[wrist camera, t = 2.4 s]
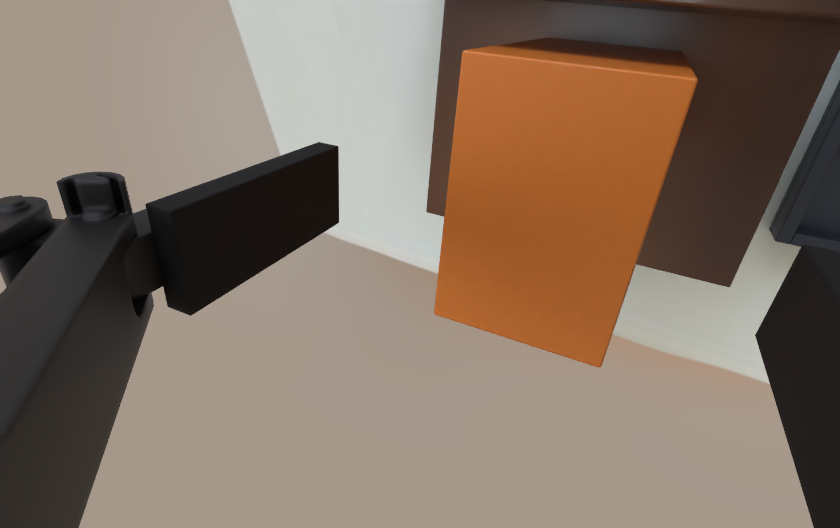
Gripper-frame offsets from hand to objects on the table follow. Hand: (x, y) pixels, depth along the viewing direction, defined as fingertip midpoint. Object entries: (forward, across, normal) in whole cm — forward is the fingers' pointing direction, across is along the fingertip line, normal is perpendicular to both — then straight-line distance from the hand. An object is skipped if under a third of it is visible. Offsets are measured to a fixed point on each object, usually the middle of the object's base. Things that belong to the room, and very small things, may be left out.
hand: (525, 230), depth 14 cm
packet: (+13, 0, 0) cm, 13 cm away
